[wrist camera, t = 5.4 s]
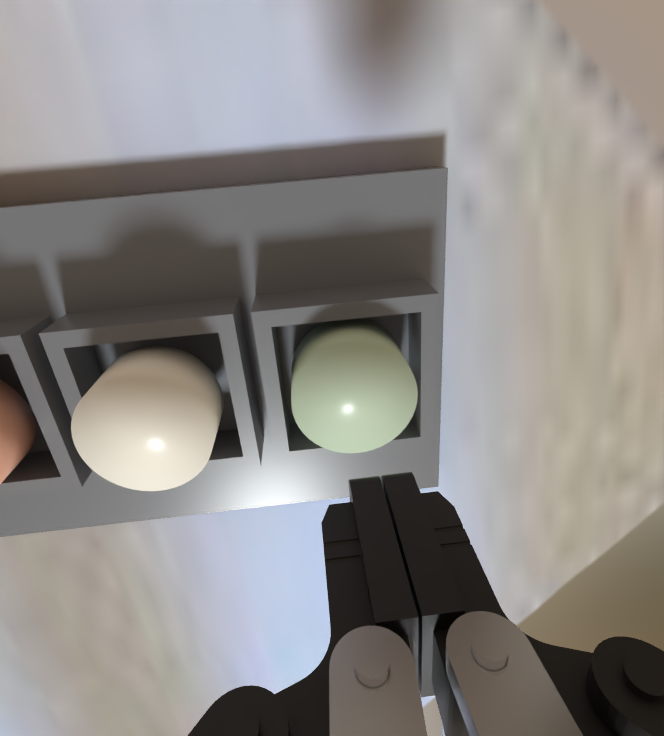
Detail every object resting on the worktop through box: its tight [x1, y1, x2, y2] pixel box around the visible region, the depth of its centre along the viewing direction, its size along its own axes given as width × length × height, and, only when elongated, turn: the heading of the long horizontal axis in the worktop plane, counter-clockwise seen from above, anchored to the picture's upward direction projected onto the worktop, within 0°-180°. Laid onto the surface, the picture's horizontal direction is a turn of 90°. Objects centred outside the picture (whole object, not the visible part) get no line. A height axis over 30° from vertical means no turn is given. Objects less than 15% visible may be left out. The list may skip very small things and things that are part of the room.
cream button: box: [71, 345, 224, 491], centre depth 16 cm, size 4×4×2 cm
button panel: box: [0, 167, 448, 537], centre depth 18 cm, size 14×22×3 cm, turn 95°
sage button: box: [291, 318, 418, 453], centre depth 17 cm, size 4×4×2 cm
